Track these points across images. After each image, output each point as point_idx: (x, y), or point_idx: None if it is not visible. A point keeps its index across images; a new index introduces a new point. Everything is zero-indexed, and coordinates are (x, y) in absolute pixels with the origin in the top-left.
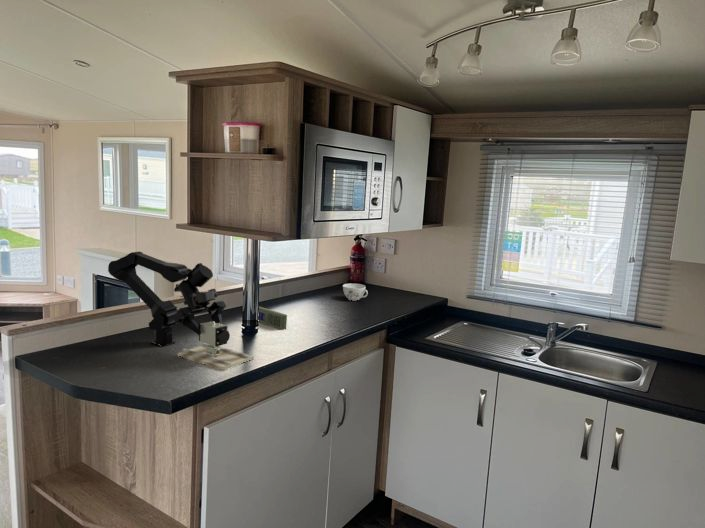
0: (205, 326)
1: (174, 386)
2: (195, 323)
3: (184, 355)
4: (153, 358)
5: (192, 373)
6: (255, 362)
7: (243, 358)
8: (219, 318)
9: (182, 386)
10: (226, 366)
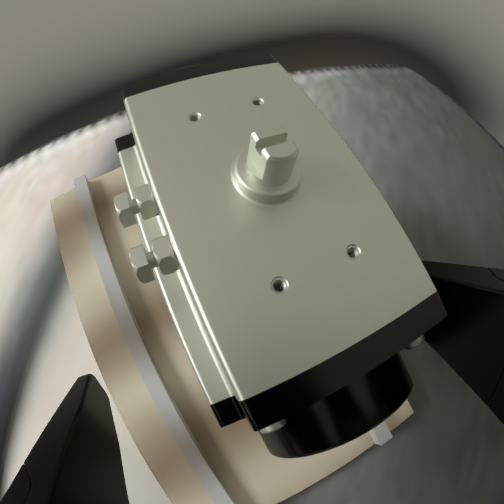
0: (373, 196)
1: (410, 110)
2: (493, 279)
3: None
4: None
5: (364, 164)
6: (73, 173)
7: (106, 185)
8: (46, 475)
9: (390, 100)
10: None
